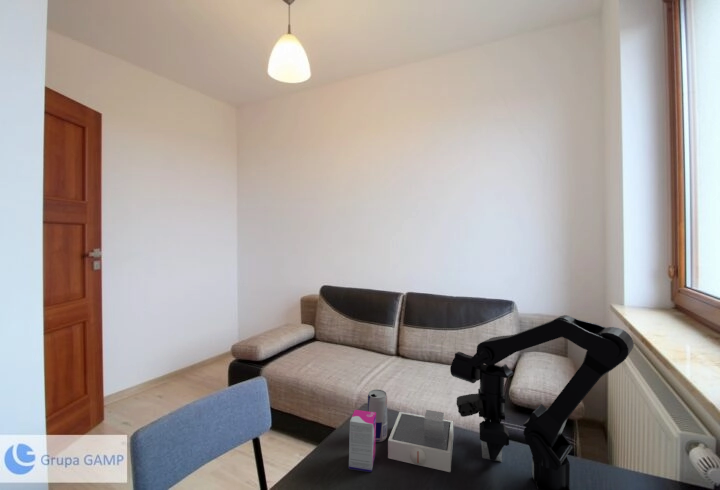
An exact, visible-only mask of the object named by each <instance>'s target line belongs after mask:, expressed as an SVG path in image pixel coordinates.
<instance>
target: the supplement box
mask: <svg viewBox="0 0 720 490" xmlns="http://www.w3.org/2000/svg"><path fill="white" fill-rule="evenodd" d="M348 436H349V437H348V439H349V443H348V444H349V445H348V448H349V449H348V451H349V452H348V469H349V470H353V471H361V472H365V473H367V472H368V473H372V471H373V467H374V463H375V458H376V443H377V442H376V412H369V411H368V410H361V409H354V411H353V412H352V415H351V418H350V420H349V435H348Z"/></svg>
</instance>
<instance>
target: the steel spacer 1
mask: <svg viewBox="0 0 720 490" xmlns="http://www.w3.org/2000/svg"><path fill="white" fill-rule="evenodd" d="M424 416H425V417H424V436H426V437H431V438H436V439H441V440H442V439H443V431H444V420H445V414H444V412H443V411H436V410H431V409H426V411H425V415H424Z"/></svg>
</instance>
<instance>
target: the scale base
mask: <svg viewBox="0 0 720 490" xmlns="http://www.w3.org/2000/svg"><path fill="white" fill-rule="evenodd" d="M402 414H403V415H409V416H414V417H420V418H424V417H425V415H420V414H414V413H409V412H403V411H399V412H398V415H397V417H396V419H395V421H394V425H393V428H392V430H391V432H390V435H389V437H388V439H387V459H391V460H395V461H398V462H404V463H407V464H412V465H416V466H421V467H424V468H430V469H435V470H439V471H444V472H448V473H451V471H452V459H453V446H454V445H453V443H454V421H453V420H449V419H448V420H447V419H444V422H448V423H449V435H448V444H447V451H446V450H441V449H436V448H431V447H427V446H422V445H417V444H412V443H407V442H402V441H397V440H393V438H394V435H395V432H396V430H397V427H398V425H399V422H400V419H401V417H402Z"/></svg>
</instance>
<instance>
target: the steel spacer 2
mask: <svg viewBox="0 0 720 490" xmlns="http://www.w3.org/2000/svg"><path fill="white" fill-rule="evenodd" d="M481 456H482V457H481V458H482V459H485V460H486V459H487V460H490V456H489V451H488V447H487V442H484V441H481ZM495 462H500V463H502V462H503V449H502V450H501V451H500V453H499V455H498V456H497V458H496V460H495Z"/></svg>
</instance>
